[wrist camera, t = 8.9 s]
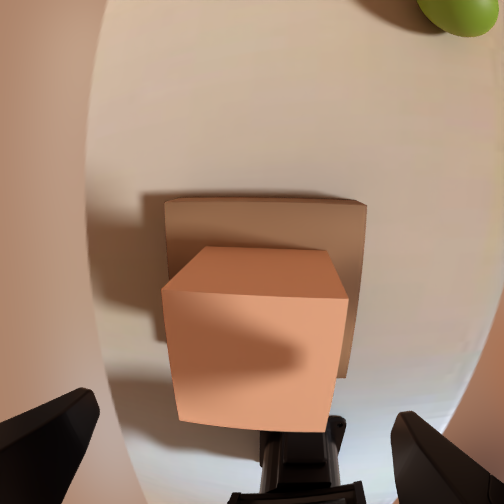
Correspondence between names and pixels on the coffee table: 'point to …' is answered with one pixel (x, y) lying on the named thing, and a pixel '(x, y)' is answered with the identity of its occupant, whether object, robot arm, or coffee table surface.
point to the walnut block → (274, 236)
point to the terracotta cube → (255, 337)
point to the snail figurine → (461, 15)
